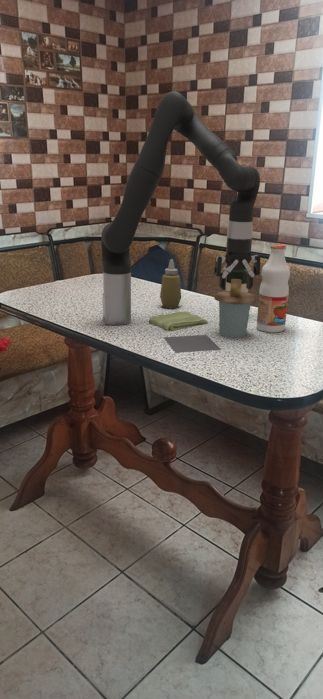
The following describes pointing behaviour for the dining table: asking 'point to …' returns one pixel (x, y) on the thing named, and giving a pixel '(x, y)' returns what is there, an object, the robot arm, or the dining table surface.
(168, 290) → the squeeze bottle
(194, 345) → the mat
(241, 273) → the wine bottle
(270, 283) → the fruit juice
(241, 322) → the grey-blue cup
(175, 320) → the washcloth
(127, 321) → the robot arm
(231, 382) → the dining table surface
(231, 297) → the lid
